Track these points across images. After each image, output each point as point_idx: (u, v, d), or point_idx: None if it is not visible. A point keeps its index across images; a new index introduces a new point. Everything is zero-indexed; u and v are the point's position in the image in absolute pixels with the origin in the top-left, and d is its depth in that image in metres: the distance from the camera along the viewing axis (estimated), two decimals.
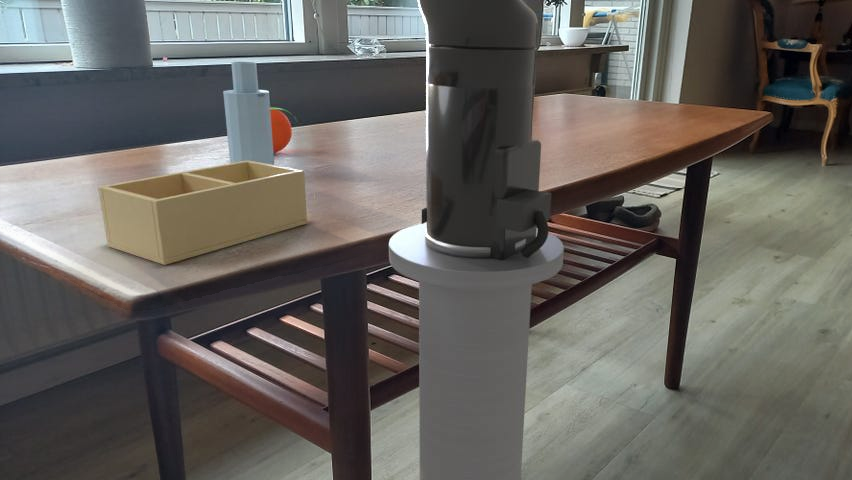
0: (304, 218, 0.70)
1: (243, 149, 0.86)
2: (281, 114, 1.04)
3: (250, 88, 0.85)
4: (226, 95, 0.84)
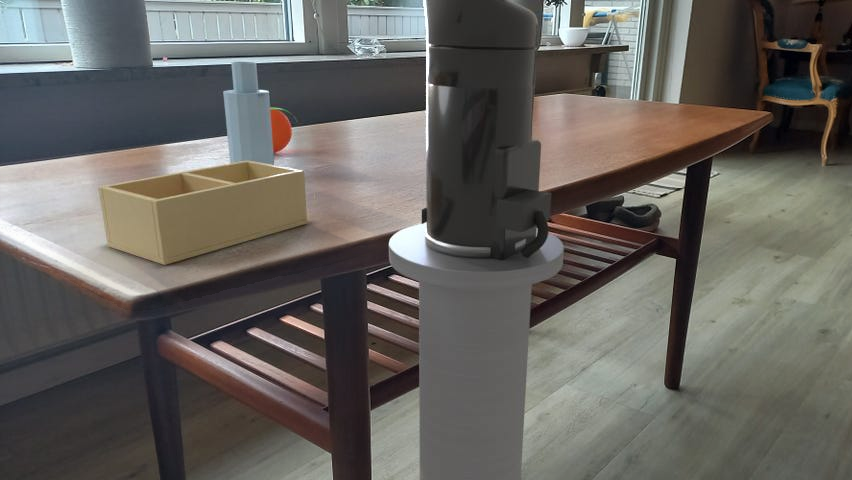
0: (304, 218, 0.70)
1: (243, 149, 0.86)
2: (281, 114, 1.04)
3: (250, 88, 0.85)
4: (226, 95, 0.84)
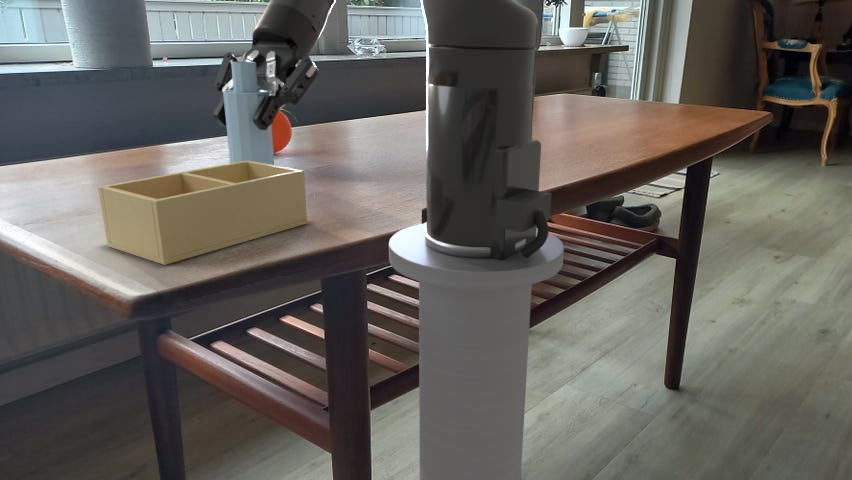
0: (304, 218, 0.70)
1: (243, 149, 0.86)
2: (281, 114, 1.04)
3: (250, 88, 0.85)
4: (226, 95, 0.84)
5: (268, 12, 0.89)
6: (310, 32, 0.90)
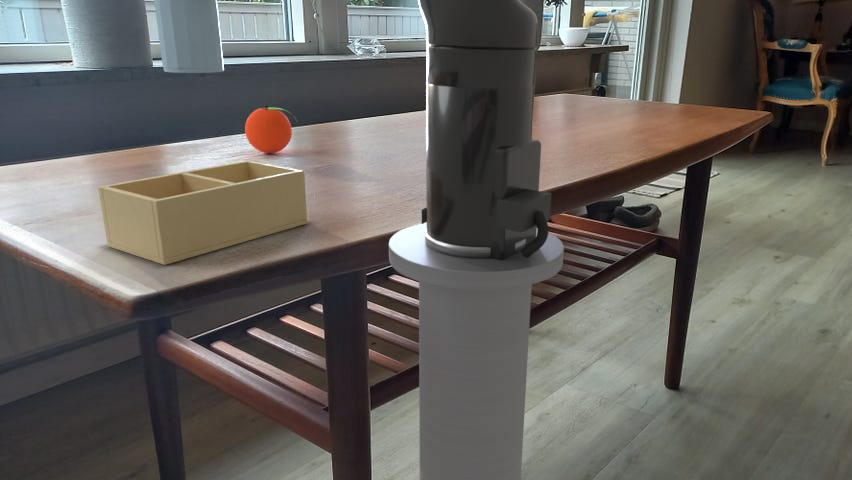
0: (304, 218, 0.70)
1: (176, 25, 0.63)
2: (281, 114, 1.04)
3: None
4: None
5: None
6: None
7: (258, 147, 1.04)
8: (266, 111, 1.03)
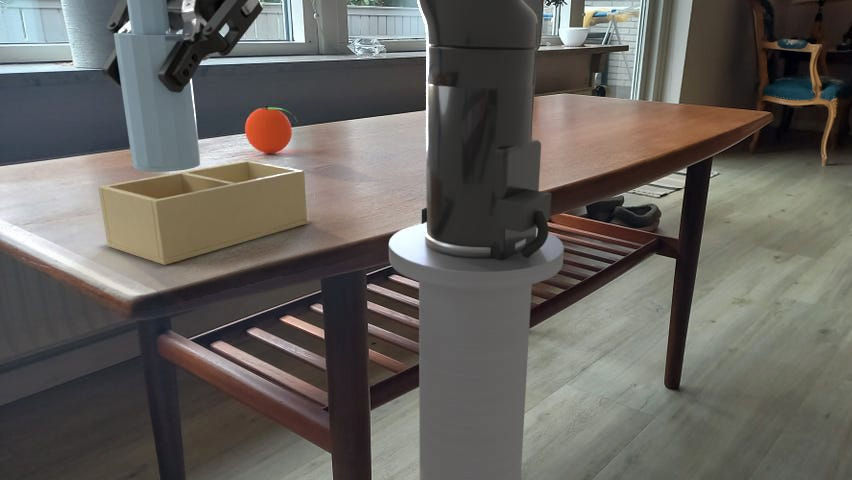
0: (304, 218, 0.70)
1: (146, 121, 0.57)
2: (281, 114, 1.04)
3: (155, 27, 0.56)
4: (117, 38, 0.55)
5: None
6: None
7: (258, 147, 1.04)
8: (266, 111, 1.03)
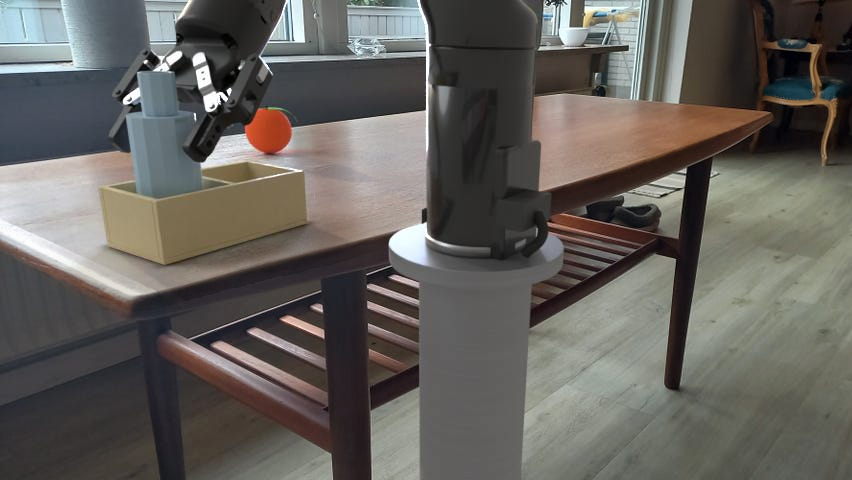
0: (304, 218, 0.70)
1: (156, 198, 0.59)
2: (281, 114, 1.04)
3: (166, 109, 0.58)
4: (129, 120, 0.58)
5: None
6: (257, 25, 0.63)
7: (258, 147, 1.04)
8: (266, 111, 1.03)
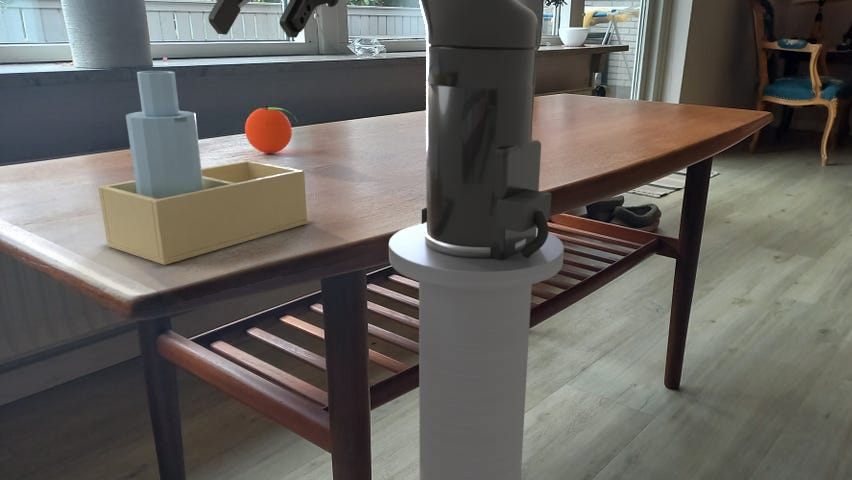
0: (304, 218, 0.70)
1: (156, 198, 0.59)
2: (281, 114, 1.04)
3: (166, 109, 0.58)
4: (129, 120, 0.58)
5: None
6: None
7: (258, 147, 1.04)
8: (266, 111, 1.03)
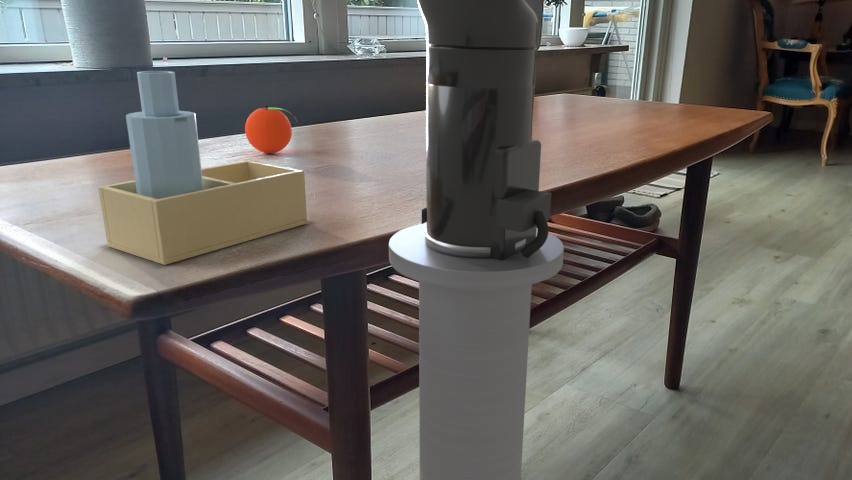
0: (304, 218, 0.70)
1: (156, 198, 0.59)
2: (281, 114, 1.04)
3: (166, 109, 0.58)
4: (129, 120, 0.58)
5: None
6: None
7: (258, 147, 1.04)
8: (266, 111, 1.03)
